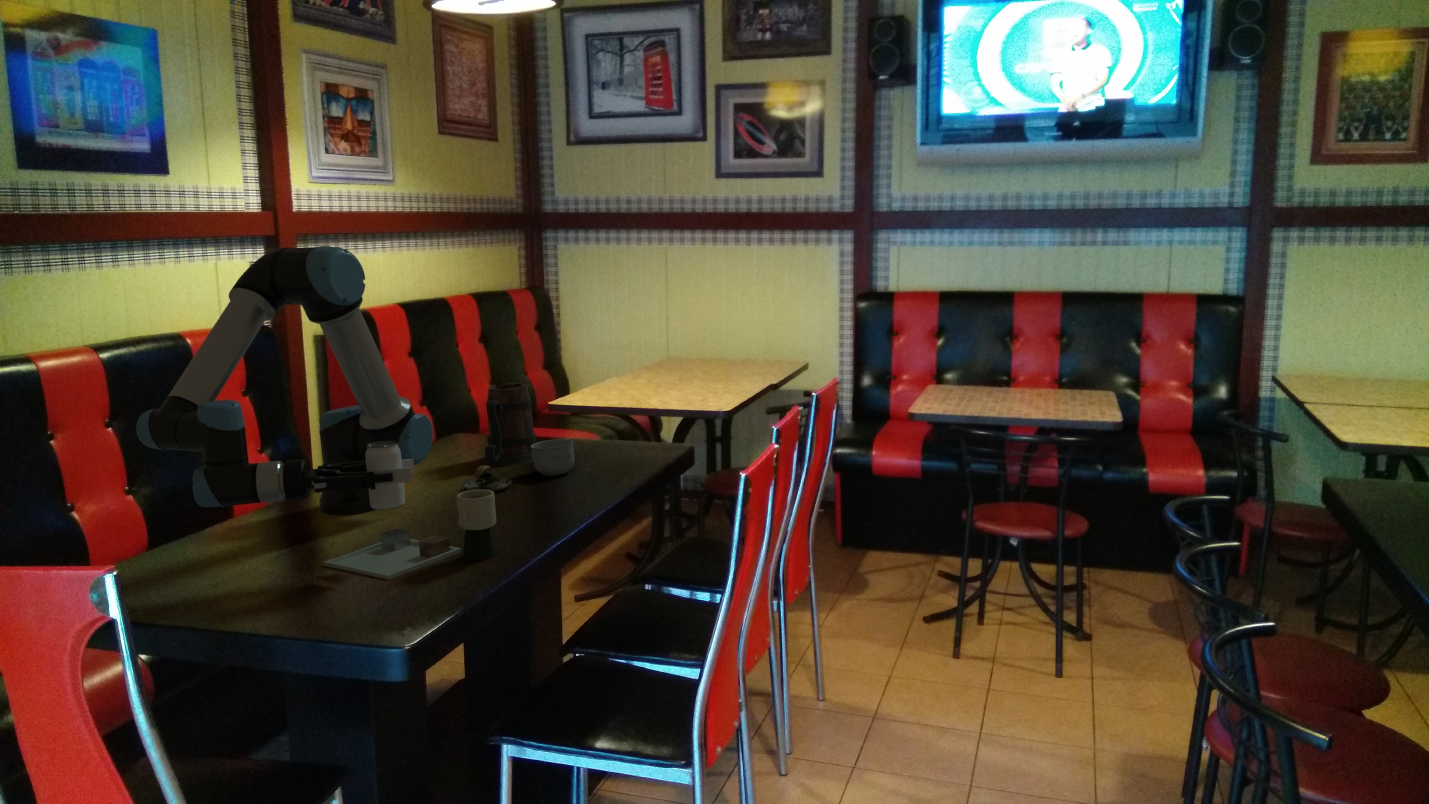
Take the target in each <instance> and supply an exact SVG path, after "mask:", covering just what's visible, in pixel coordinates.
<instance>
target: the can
mask: <svg viewBox="0 0 1429 804" xmlns="http://www.w3.org/2000/svg"><path fill="white" fill-rule="evenodd" d="M397 444H398V443H397V442H395V441H381V442H375V443H371V444H368V445H367V451H366V454H365V456H366V468H367V472H374V474H375V470H381V469H392V468H402V459H401V451H400V449H399V447H398V445H397ZM375 487H376V489H374V490H371V488H369V499H370V506H371V507H372V508H373V509H374V510H378V511H382V510H383V511H385V510H394V509H398V508H400V507H403V506H404V504H406V494H405V493H406V492H405V483H393V484H382V485H376V483H375Z"/></svg>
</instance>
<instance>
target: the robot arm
mask: <svg viewBox="0 0 1429 804" xmlns="http://www.w3.org/2000/svg"><path fill="white" fill-rule="evenodd" d="M365 280H366V275H365V271H364V267H363V265H362V263H361V262H360V261H359V259H358V258H357V256H356V255H354V253H352V252H351V251H349V250H348V249H345V248H343V247H339V246H330V245H321V246H315V247H314V246H311V247H309V246H306V247H279V248H276V249H273V250H269V251H268V252H267V253H265V254H264V255H262V256H260V257H259V258H257V259H256V260H255V261H254V262H253V263H252V264H250V265H249V267H248V268H247V269H246V270H245V271H244V272H243V273H242V274H241V276H240V277H239V278H238V279H237V280H236V282H235V283H234V284H233V286H232V288H231V289H230V290H229V292H228V299H229V302H228V304H227V305H226V306H225V309H224V310H223V311H222V313H221V314H220V316H219V317H218V319H217V320H216V322H215V323H214V325H213V326H212V328H211V330H210V331H209V333H208V334H207V335H206V338H205V339H204V341H202V343H201V345H200V346H199V348H198V349H197V350H196V352H195V354H194V356H193V357H192V359H191V360H190V362H189V363H188V365H187V366H186V367H185V369H184V371H183V373H182V374H181V376H180V377H179V379H178V380H177V381H176V383H175V385H173V388H172V389H171V391H170V393H169V394H168V395H167V397H166V399H165V400H164V401H163V403H162V404H161V406H160V408H159V407H158V408H152V409H148V410H146V411H145V412H143V413H142V414H141V415H140V416H139V417H138V420H137V423H136V426H135V427H136V430H135V431H136V435H137V438H138V440H139V441H140V443H142V444H143V446H146V447H147V448H151V449H156V450H161V451H164V452H166V451H184V452H185V451H188V452H200V453H202V457H203V458H202V460H203V466H201V467H198V468H196V469H195V470H194V472H193V474H192V493H193V498H194V501H195V502H196V504H197V505H199V507H202V508H215V507H216V508H217V507H218V508H220V507H222V508H227V507H234V506H242V505H243V506H245V505H251V504H254V505H255V504H263V503H264V504H265V503H268V505H269V506H272V505H274V503H275V502H276V503H277V502H283V501H285V500H288V502H289V501H290V502H291V501H303V500H307V499H308V498H309V497H310V494H311V489H313V491H314V493H317V494H319V493H320V497H319V500H318V501H319V511H320V512H321V513H324V514H330V515H350V514H358V513H365V512H370V511H374V510H375V509H373V508H372V507H371V506H370V499H369V488H371V490H374V489H376V487H375V483H376V485H382V484H393V483H404V484H405V483H413V476H412V475H413V474H415V466H416V465H419V464H420V463H422V462H423V461H424V460H425V459H426V457H427V456H428V455H429V452H430V451H431V448H432V444H433V439H434V430H433V429H434V428H433V424H432V421H431V420H430V418H429V417H428V416H427V415H426V414H422V413H419V412H418V413H416V412H415V411H414V409H413V407H412V404H411V401H409V399H408V398H406V397H403V396H400V395H399V393H398V390H397V387H396V386H395V384H394V381H393V379H392V377H391V375H390V372H389V371H388V369H387V366H386V364H385V362H384V359H383V357H382V355H381V352H380V351H379V349H378V345H376V343H375V340H374V338H373V336H372V333H371V331H370V329H369V326H368V324H367V323H366V320H365V317H364V316H363V314H362V311H361V310H360V308H361V305H363V300H364V299H363V298H364V297H363V294H364V293H365V289H366V283H364V281H365ZM290 305H291V306H292V305H294V306H298V305H300V306H301V307H302V308H303V311H304V313H305V316H306V317H307V319H308V321H310V322H311V323H314V324H318V325H320V329H321V330H322V332H323V334H324V336H325V338H326V340H327V342H328V345H329V346H330V349H331V351H332V353H333V356H334V357H335V359H336V361H337V364H338V365H339V368H340V370H341V372H342V373H343V375H344V378H345V380H346V382H347V384H348V386H349V388H350V390H351V392H352V395H353V396H354V398H355V400H356V402H357V405H351V406H344V407H340V408H336V409H332V410H327V411H326V412H323V413H322V414H321V415H320V417H319V430H318V431H319V438H320V446H321V454H322V463H323V464H321V465H318V466H317V468H313V469H310V468H309V466H308V461H306V460H305V459H304V458H300V459H292V460H291V459H289V460H286V461H284V463H283V461H281V460H275V461H273V460H272V461H263V462H261V461H260V462H255V463H251V462H249V453H248V442H247V433H246V420H245V419H244V414H243V413H244V412H243V408H242V405H241V403H240V402H239V401H237V400H234V399H218V400H217V398H218V397H219V395H220V393H221V392H222V391H223V389H224V387H225V385H226V384H227V382H228V381H229V379H230V378H231V376H232V374H233V373H234V371H235V370H236V368H237V366H238V365H239V363H240V362H241V361H242V358H243V357H244V355H246V352H247V350H248V349H249V348H250V346H251V344H252V343H253V341H254V339H255V338H256V336H257V335H258V333H259V331H261V328H262V327H263V325H264V324H265V322H267V321H271V320H272V319H274V317H275V316H276V314H277V313H278V311H280V310H281V309H282V308H283V307H286V306H290ZM381 441H395V442H397V443H398V444H397V445H398V447H399V449H400V451H401V459H402V468H392V469H381V470H375V474H374V472H367V468H366V456H365V454H366V451H367V445H368V444H371V443H375V442H381Z"/></svg>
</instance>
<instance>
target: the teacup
mask: <svg viewBox="0 0 1429 804" xmlns="http://www.w3.org/2000/svg"><path fill="white" fill-rule="evenodd" d="M574 449H575V447H574V440H573V439H569V438H568V437H564V438H560V439H559V438H557V439H549V440H542V441H539V442H535V444H533V445H531V450H532V458H533V462H532V463H533V466H534V469H535V470H536V471H537V472H539V473H540V474H541V475H543V476H547V477H548V476H549V477H550V476H560V475H563V474H567V473H568V472H569V471H570V469H572V468H573V466H574V464H575V451H574Z"/></svg>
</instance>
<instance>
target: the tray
mask: <svg viewBox="0 0 1429 804" xmlns="http://www.w3.org/2000/svg"><path fill="white" fill-rule="evenodd" d="M410 540H411V546H408V547H405V548H402V549H399V550H397V551H393V550H388V549H383V548H382V547H381V541H380V542H377V543H375V544H372V545H369V546H365V547H363V548H360V549H357V550H354V551H352V552H348V553H345V554H343V555H339V556H337V557H334V558H331V559H328V560H326V561H323V566H324V567H329V568H334V569H338V570H343V571H347V572H352V573H357V574H360V575H365V576H370V577H375V578H379V579H383V580H387V581H388V580H389V581H390V580H392V579H393V578H396V577H399V576H402V575H405V574H407V573H410V572H412V571H416V570H417V569H420V568H424V567H425V566H428V565H431V564H433V563H437V562H439V561H441V560H444V559H446V558H450V557H452V556H455V555H458V554H461V553H462V548H461V547H456V546H451V545H449V546H450V551H448V552H446V553H443V554H440V555H438V556H435V557H432V558H428V557H423V556H420V549H419V541H420V540H417V539H413V538H410Z"/></svg>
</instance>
